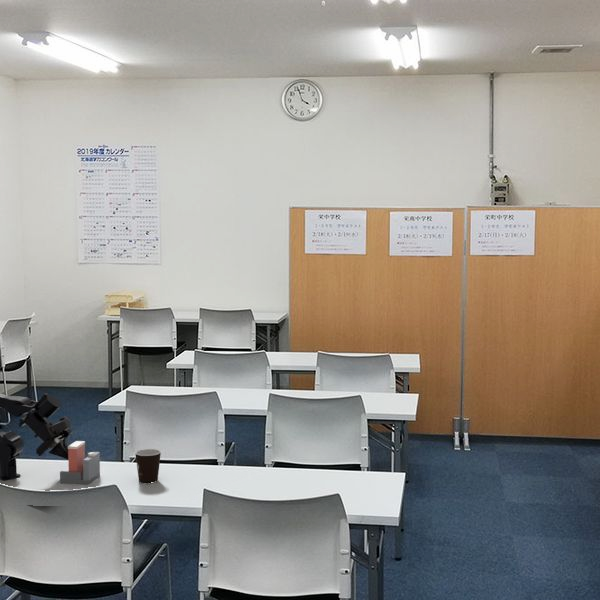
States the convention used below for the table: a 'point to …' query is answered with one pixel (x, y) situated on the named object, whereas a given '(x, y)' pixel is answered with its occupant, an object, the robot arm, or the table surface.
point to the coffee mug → (148, 465)
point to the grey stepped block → (89, 471)
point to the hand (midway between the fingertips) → (71, 459)
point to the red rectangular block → (76, 456)
